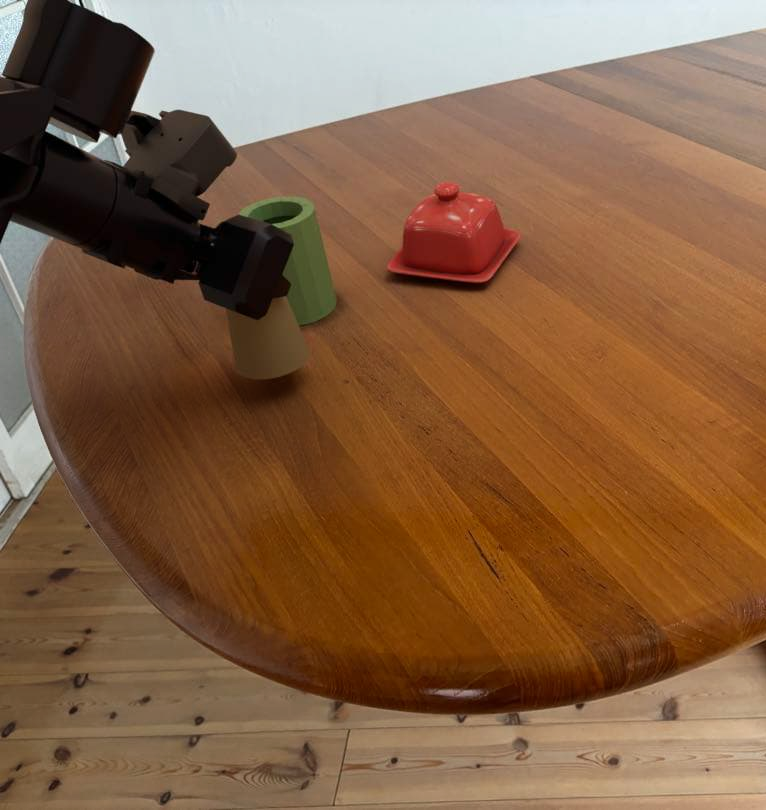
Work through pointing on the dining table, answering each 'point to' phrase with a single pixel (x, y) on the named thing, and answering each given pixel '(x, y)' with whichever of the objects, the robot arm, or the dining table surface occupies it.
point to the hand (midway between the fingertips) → (265, 281)
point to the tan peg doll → (267, 342)
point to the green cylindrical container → (300, 255)
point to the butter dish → (454, 237)
